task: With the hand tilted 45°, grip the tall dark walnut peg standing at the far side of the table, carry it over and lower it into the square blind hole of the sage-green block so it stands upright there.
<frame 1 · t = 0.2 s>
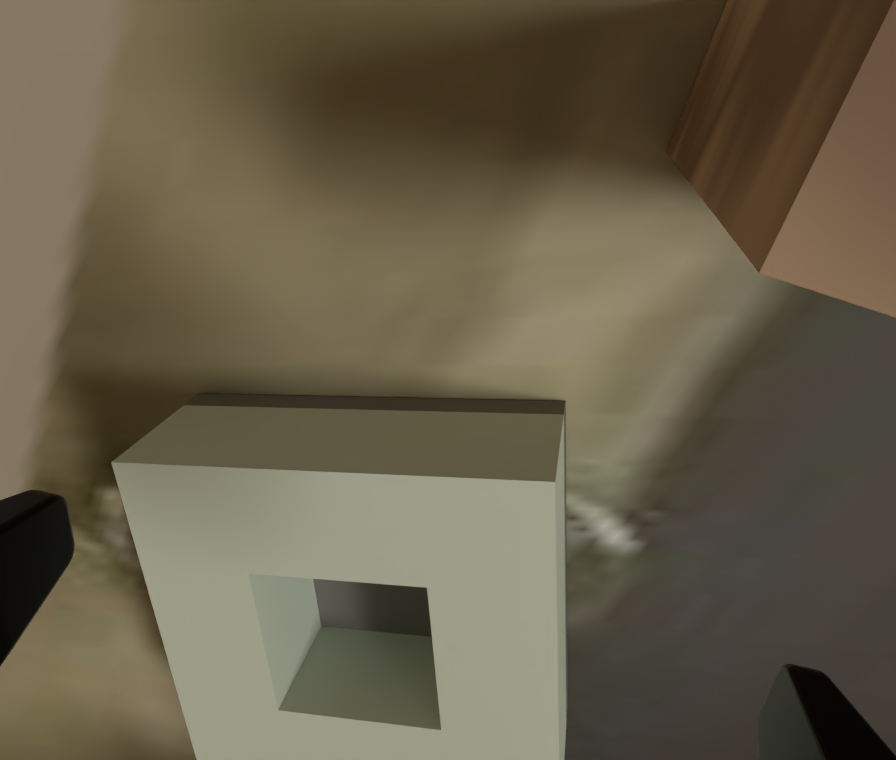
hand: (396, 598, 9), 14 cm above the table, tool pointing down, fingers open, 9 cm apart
socket block: (390, 555, 27), on the table
walnut peg: (772, 98, 18), on the table
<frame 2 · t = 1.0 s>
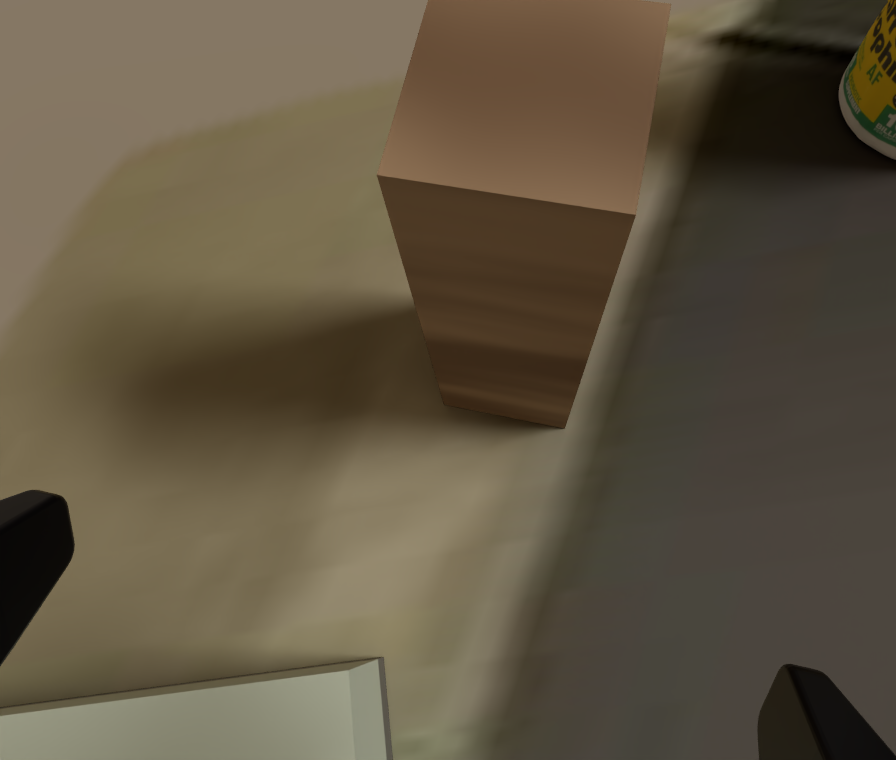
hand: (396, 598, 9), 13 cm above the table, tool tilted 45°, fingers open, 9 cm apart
walnut peg: (515, 359, 24), on the table
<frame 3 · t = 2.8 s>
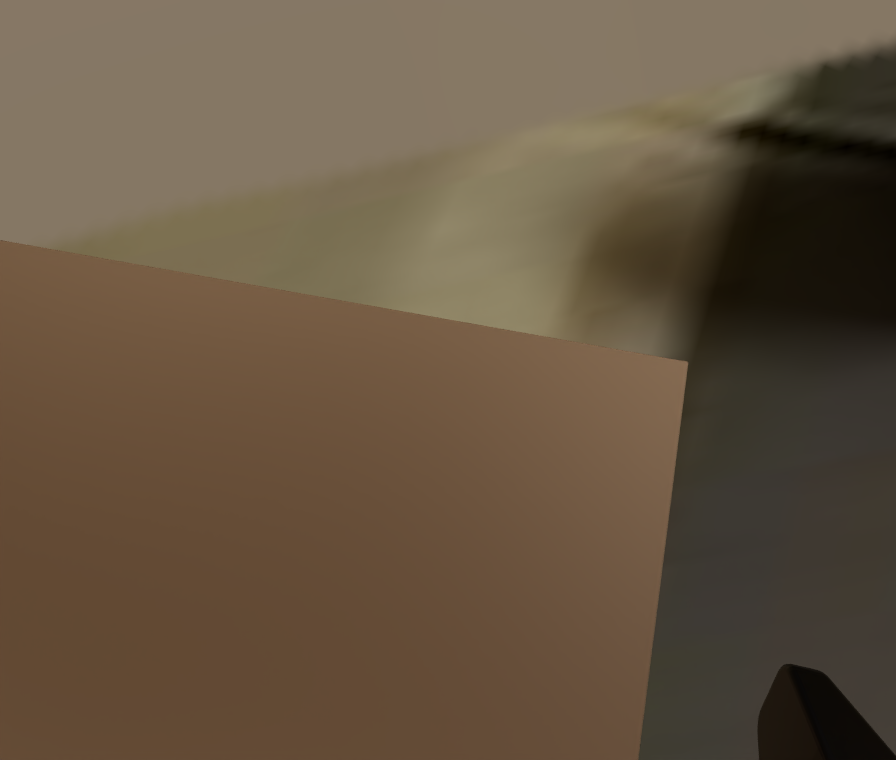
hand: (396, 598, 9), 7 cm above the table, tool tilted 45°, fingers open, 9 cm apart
walnut peg: (438, 633, 16), on the table
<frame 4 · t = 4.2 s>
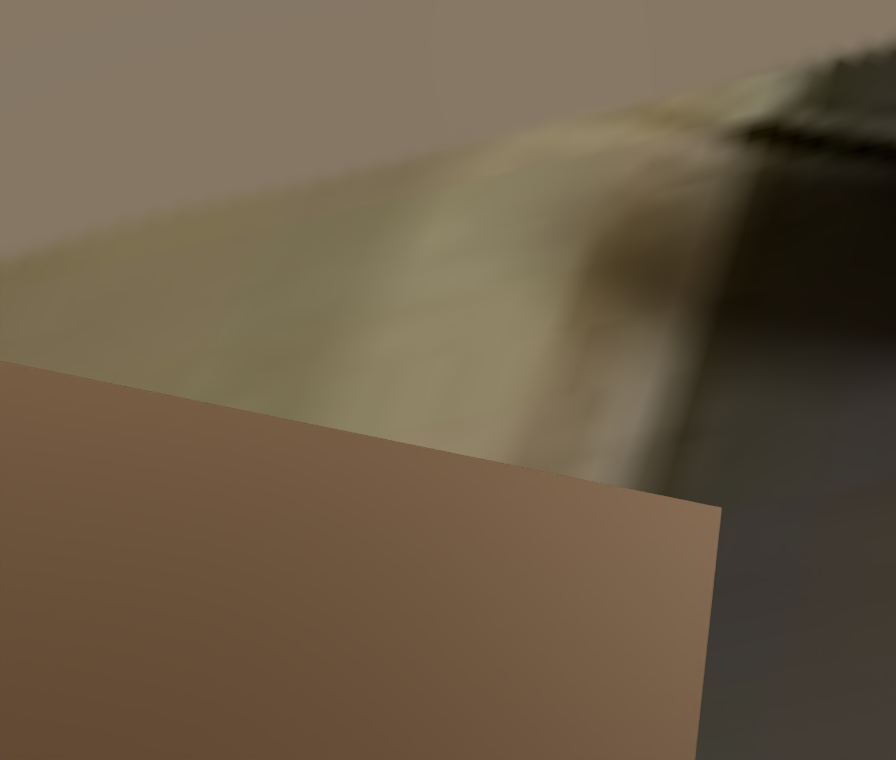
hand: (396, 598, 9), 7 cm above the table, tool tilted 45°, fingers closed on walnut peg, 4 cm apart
walnut peg: (425, 675, 15), on the table, touching gripper
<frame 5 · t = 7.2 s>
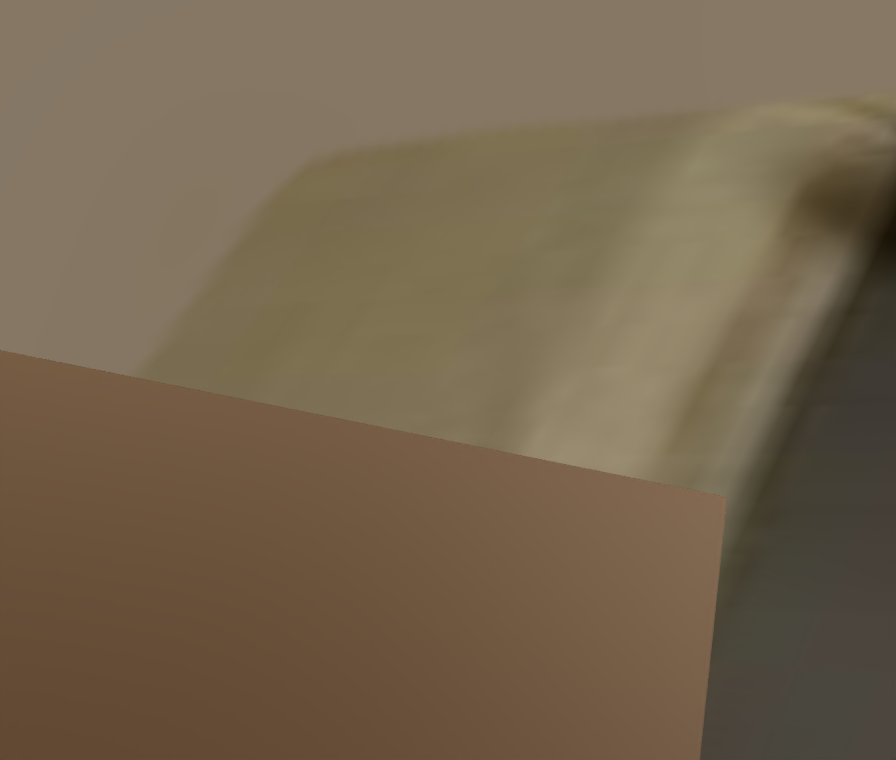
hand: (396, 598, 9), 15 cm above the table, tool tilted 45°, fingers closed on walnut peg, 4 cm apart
walnut peg: (427, 673, 14), point 8 cm above the table, touching gripper
when the fingers open (9 cm above the table, at t = 10.0 s): walnut peg stays where it is, resting on socket block.
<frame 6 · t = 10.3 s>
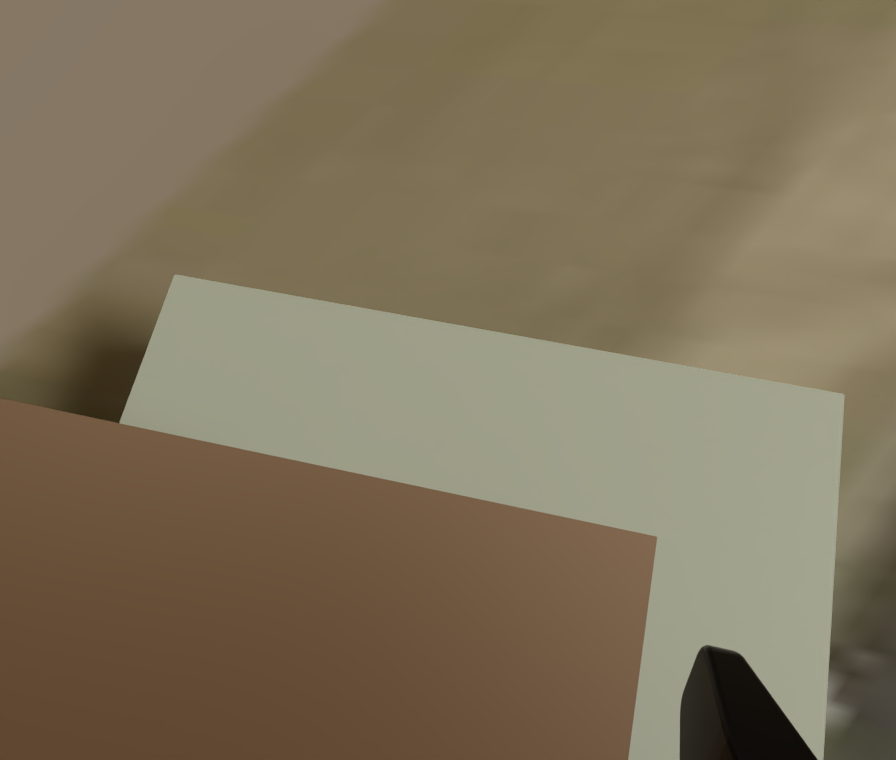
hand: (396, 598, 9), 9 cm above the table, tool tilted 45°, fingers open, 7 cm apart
socket block: (435, 668, 16), on the table
walnut peg: (429, 671, 15), point 1 cm above the table, touching socket block
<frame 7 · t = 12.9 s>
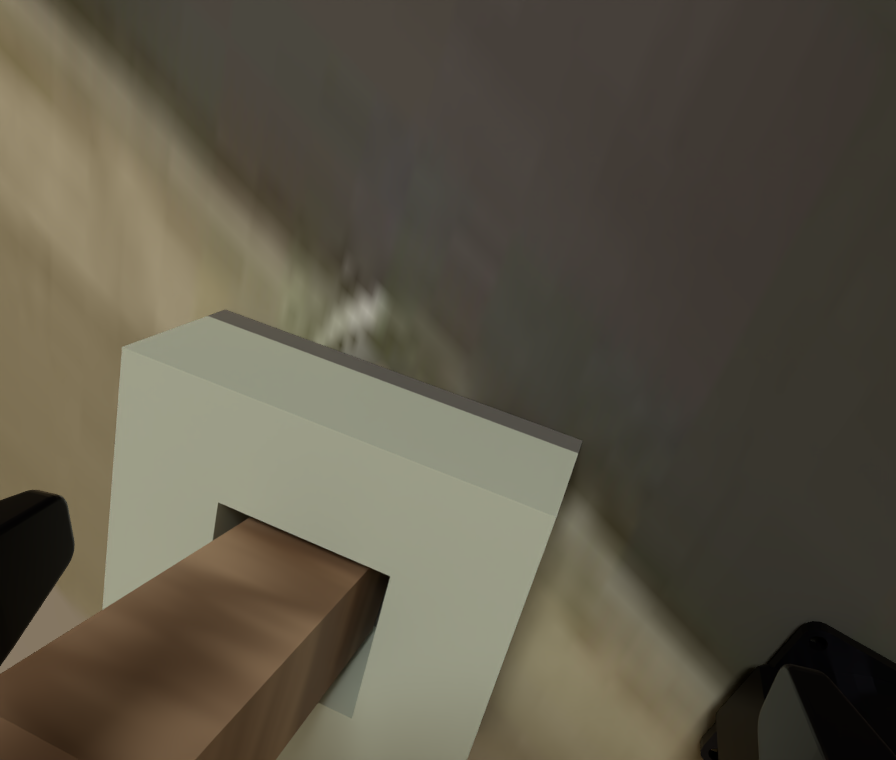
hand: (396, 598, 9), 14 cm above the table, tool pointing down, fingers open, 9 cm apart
socket block: (356, 531, 26), on the table
walnut peg: (336, 557, 25), point 1 cm above the table, tilted 10°, touching socket block
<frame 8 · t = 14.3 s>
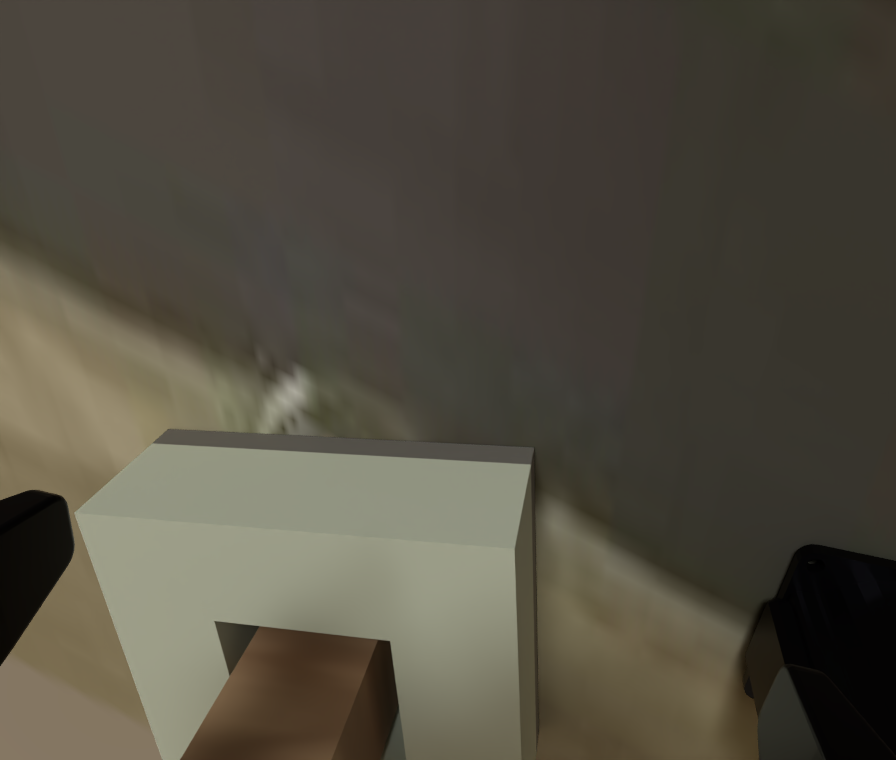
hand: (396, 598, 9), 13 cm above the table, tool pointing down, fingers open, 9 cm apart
socket block: (363, 587, 27), on the table
walnut peg: (354, 614, 26), point 1 cm above the table, touching socket block
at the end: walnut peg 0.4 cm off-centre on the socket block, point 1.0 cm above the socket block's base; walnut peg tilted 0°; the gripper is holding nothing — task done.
